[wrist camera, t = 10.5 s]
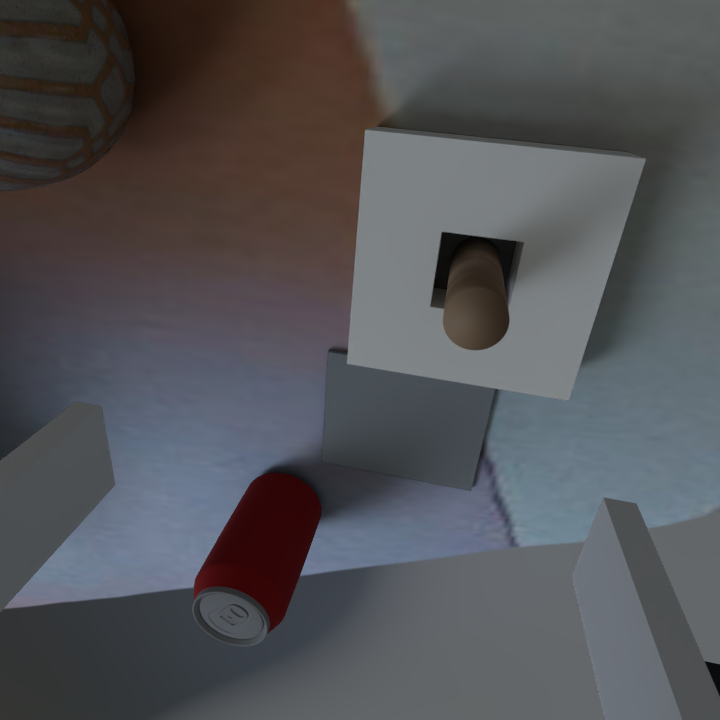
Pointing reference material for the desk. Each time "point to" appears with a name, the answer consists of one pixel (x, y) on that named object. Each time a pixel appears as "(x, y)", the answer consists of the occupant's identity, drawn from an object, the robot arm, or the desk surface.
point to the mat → (403, 423)
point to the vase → (60, 88)
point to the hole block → (493, 220)
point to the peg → (476, 296)
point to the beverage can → (257, 560)
